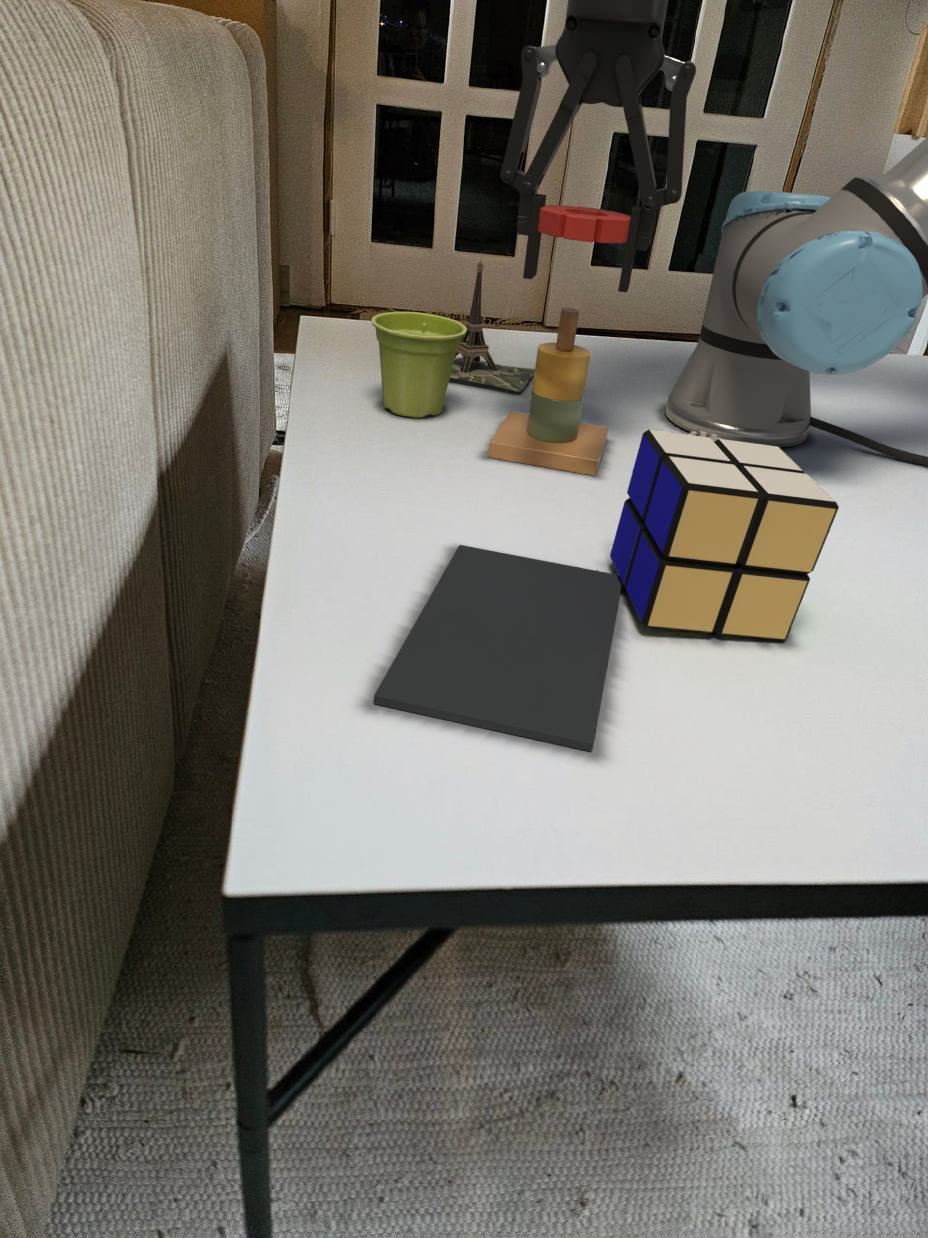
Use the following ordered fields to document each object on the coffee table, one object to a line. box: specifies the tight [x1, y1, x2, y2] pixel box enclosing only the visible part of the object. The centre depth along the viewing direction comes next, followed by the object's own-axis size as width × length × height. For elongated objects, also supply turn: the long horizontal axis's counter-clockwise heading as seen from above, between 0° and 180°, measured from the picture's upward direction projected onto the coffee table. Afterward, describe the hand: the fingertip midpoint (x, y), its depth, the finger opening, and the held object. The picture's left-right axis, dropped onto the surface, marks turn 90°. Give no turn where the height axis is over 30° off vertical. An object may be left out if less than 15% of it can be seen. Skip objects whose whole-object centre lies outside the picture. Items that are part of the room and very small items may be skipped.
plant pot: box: [371, 311, 467, 419], centre depth 91 cm, size 9×9×9 cm
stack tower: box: [487, 307, 609, 477], centre depth 84 cm, size 10×10×13 cm
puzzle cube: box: [609, 429, 840, 642], centre depth 60 cm, size 10×10×10 cm
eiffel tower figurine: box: [450, 252, 535, 393], centre depth 104 cm, size 15×10×13 cm
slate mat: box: [373, 544, 623, 752], centre depth 57 cm, size 12×20×1 cm, turn 167°
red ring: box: [538, 204, 631, 244], centre depth 77 cm, size 8×8×2 cm
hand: (576, 282), depth 79 cm, fingers closed on red ring, 8 cm apart
